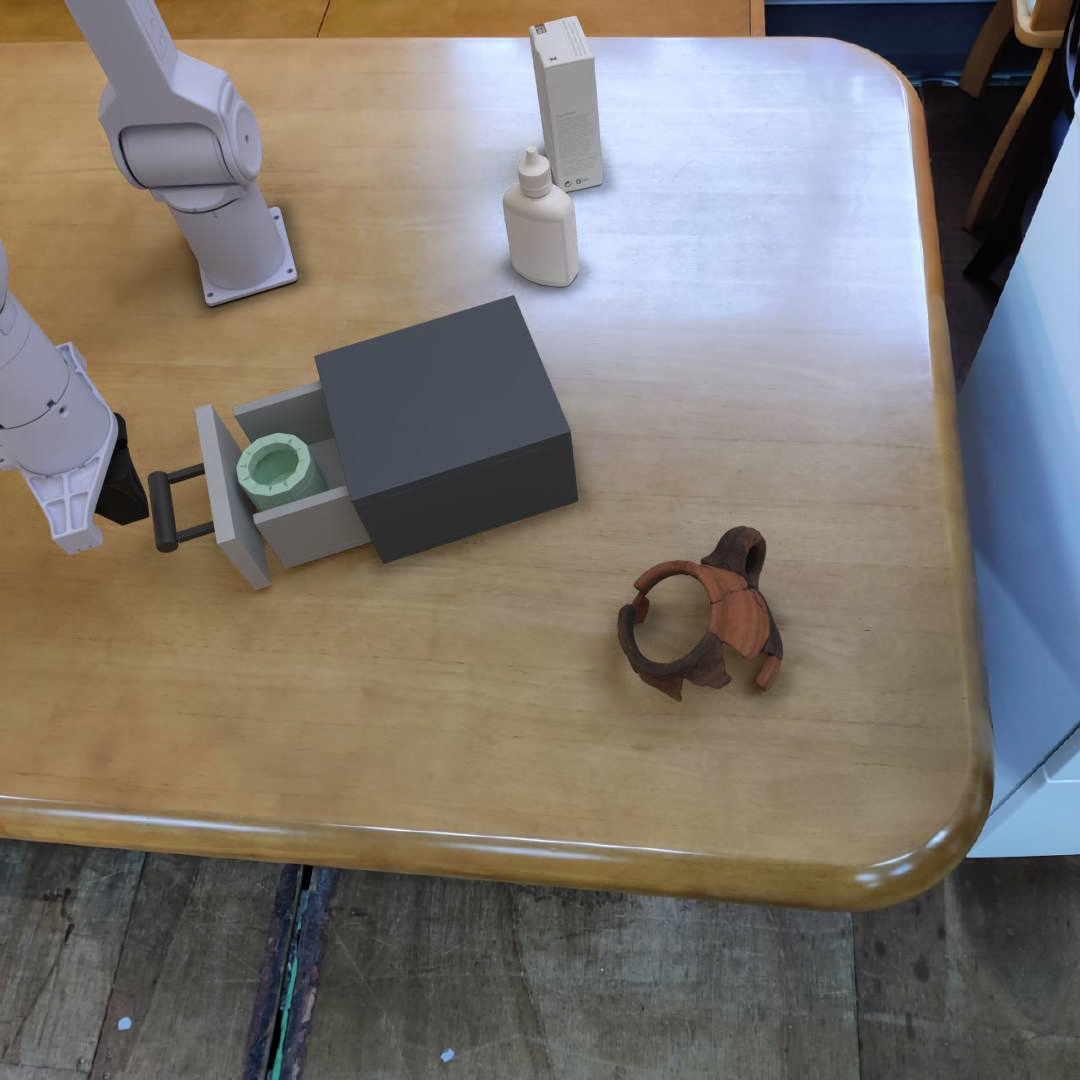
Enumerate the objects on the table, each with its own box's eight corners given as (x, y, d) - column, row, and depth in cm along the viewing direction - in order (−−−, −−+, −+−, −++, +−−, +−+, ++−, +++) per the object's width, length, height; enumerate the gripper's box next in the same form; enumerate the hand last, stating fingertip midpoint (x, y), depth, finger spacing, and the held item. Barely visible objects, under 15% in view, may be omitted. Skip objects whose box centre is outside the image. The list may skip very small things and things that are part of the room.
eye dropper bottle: (542, 302, 78) (527, 183, 67) (506, 263, 80) (486, 142, 70) (586, 277, 78) (578, 156, 68) (549, 239, 81) (535, 116, 71)
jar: (255, 481, 69) (232, 446, 65) (321, 460, 70) (302, 424, 66) (266, 537, 67) (242, 504, 63) (334, 515, 67) (315, 481, 63)
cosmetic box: (605, 184, 84) (600, 57, 73) (556, 196, 84) (543, 70, 73) (588, 140, 87) (581, 11, 76) (540, 151, 87) (527, 23, 76)
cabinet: (383, 564, 67) (350, 500, 60) (347, 428, 73) (313, 355, 66) (578, 501, 68) (571, 431, 61) (526, 372, 74) (514, 294, 67)
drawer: (188, 612, 66) (143, 567, 60) (170, 482, 71) (127, 428, 65) (440, 531, 67) (421, 479, 61) (403, 409, 72) (381, 350, 67)
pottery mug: (767, 740, 59) (706, 706, 53) (647, 697, 65) (580, 663, 59) (830, 562, 61) (777, 511, 55) (707, 538, 67) (648, 490, 62)
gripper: (-53, 315, 56) (69, 448, 67) (-54, 516, 48) (83, 624, 60) (66, 280, 56) (166, 418, 68) (82, 474, 49) (191, 590, 61)
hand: (134, 513), depth 64 cm, fingers closed
